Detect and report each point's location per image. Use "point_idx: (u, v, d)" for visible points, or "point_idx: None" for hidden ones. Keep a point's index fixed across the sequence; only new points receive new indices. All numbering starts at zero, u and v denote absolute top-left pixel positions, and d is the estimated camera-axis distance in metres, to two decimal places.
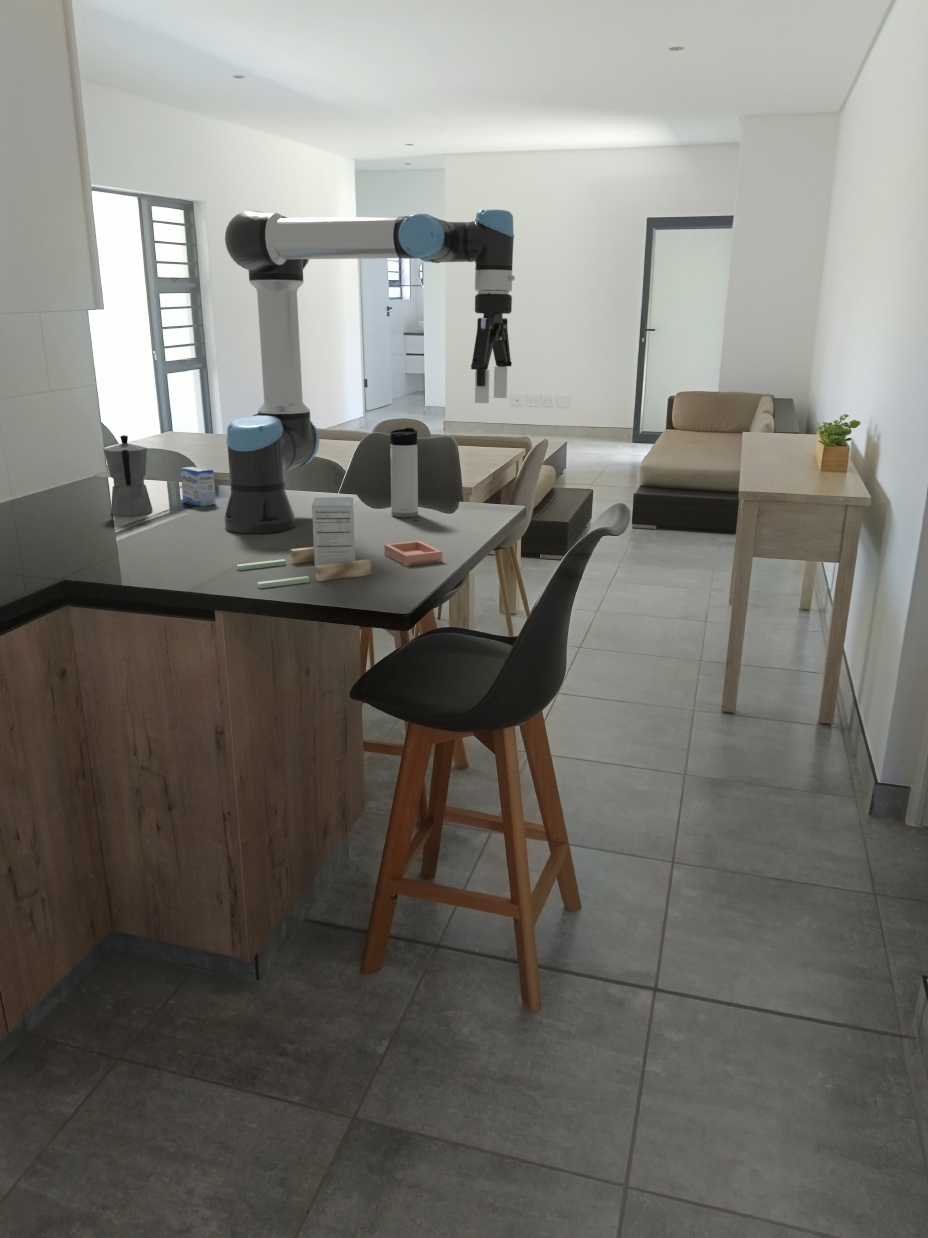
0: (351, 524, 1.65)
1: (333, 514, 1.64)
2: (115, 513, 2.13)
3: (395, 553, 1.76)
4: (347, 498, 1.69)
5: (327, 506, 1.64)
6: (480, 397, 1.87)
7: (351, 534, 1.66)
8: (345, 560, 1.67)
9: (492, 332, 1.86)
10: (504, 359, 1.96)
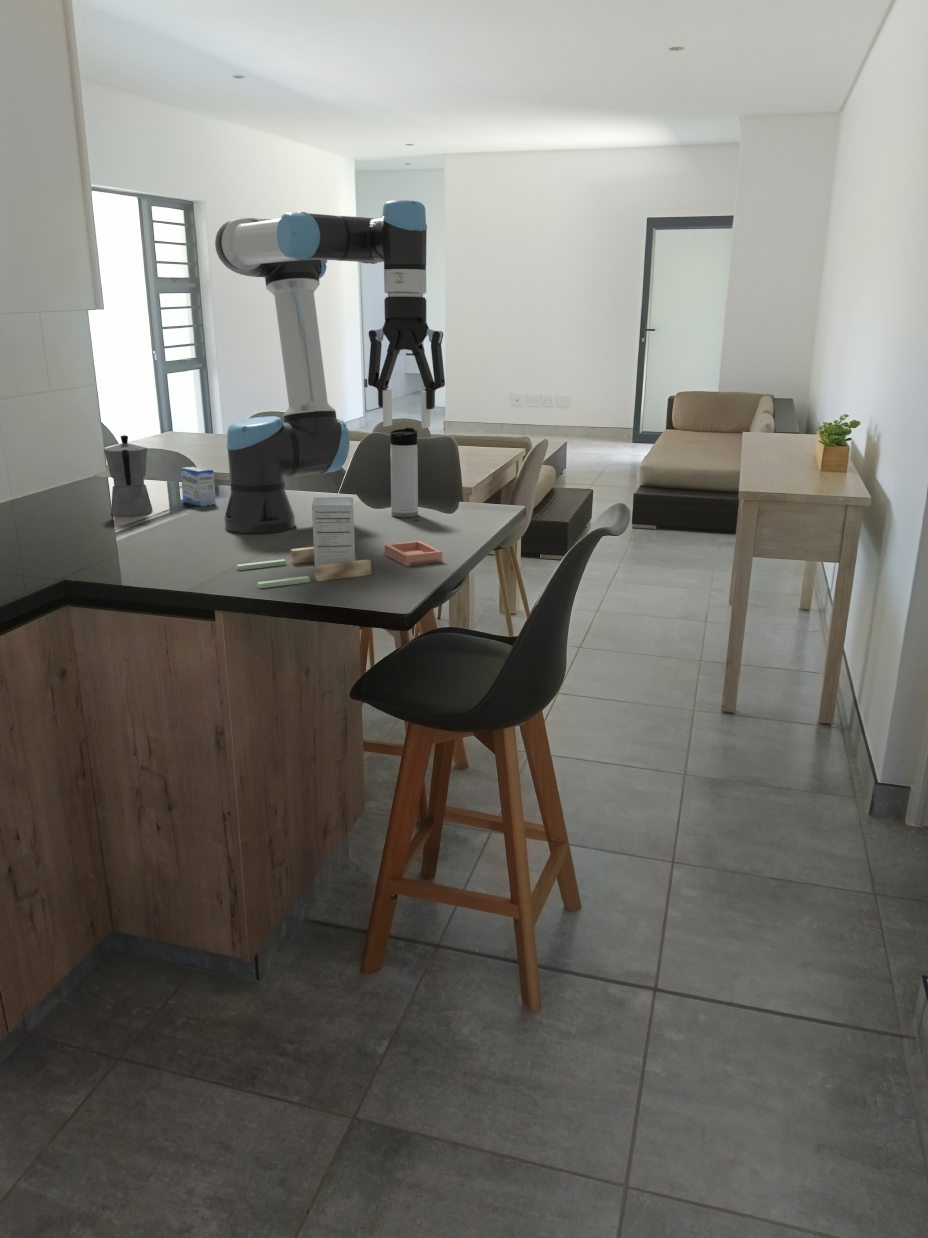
0: (351, 524, 1.65)
1: (333, 514, 1.64)
2: (115, 513, 2.13)
3: (395, 553, 1.76)
4: (347, 498, 1.69)
5: (327, 506, 1.64)
6: None
7: (351, 534, 1.66)
8: (345, 560, 1.67)
9: None
10: None
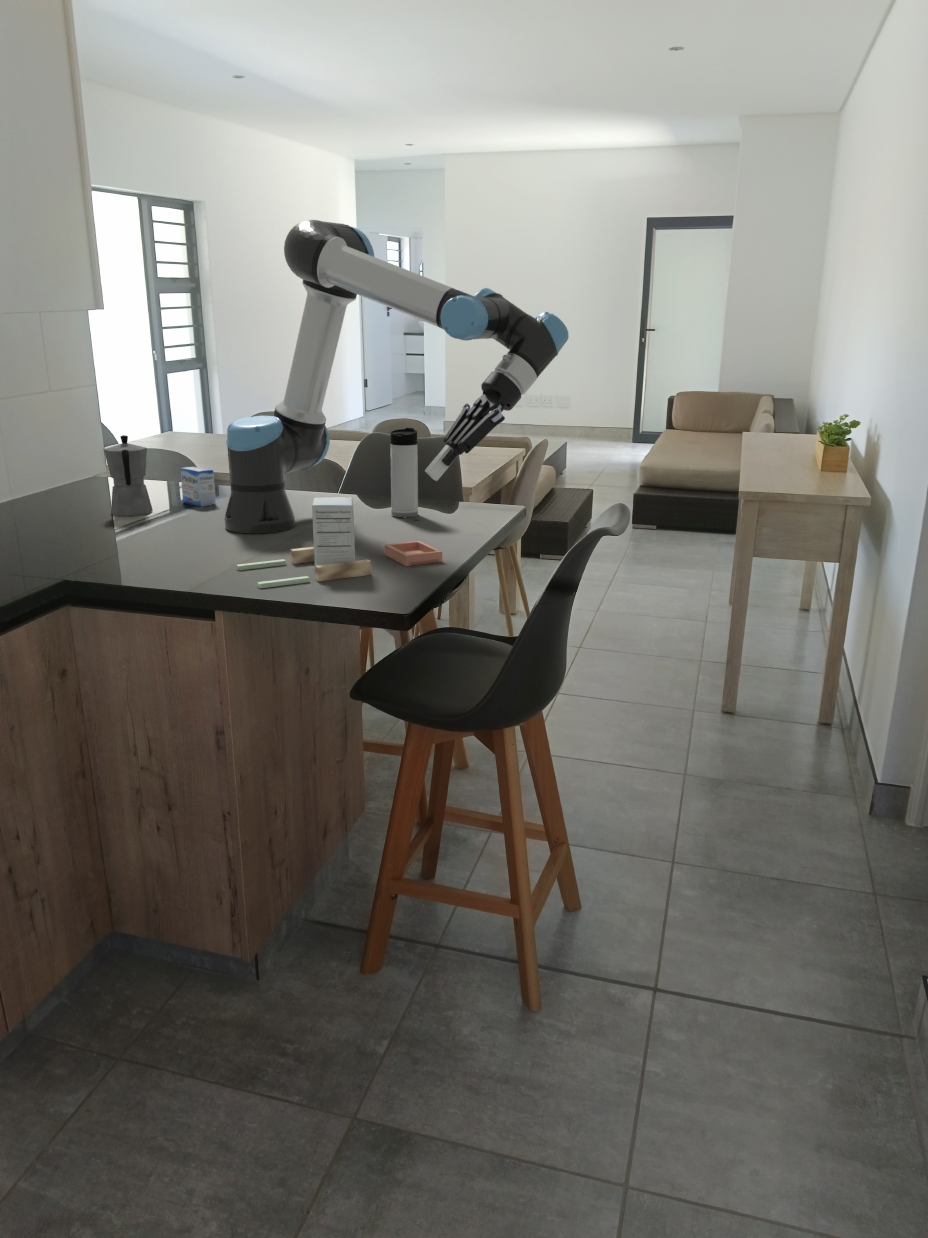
0: (351, 524, 1.65)
1: (333, 514, 1.64)
2: (115, 513, 2.13)
3: (395, 553, 1.76)
4: (347, 498, 1.69)
5: (327, 506, 1.64)
6: None
7: (351, 534, 1.66)
8: (345, 560, 1.67)
9: None
10: None
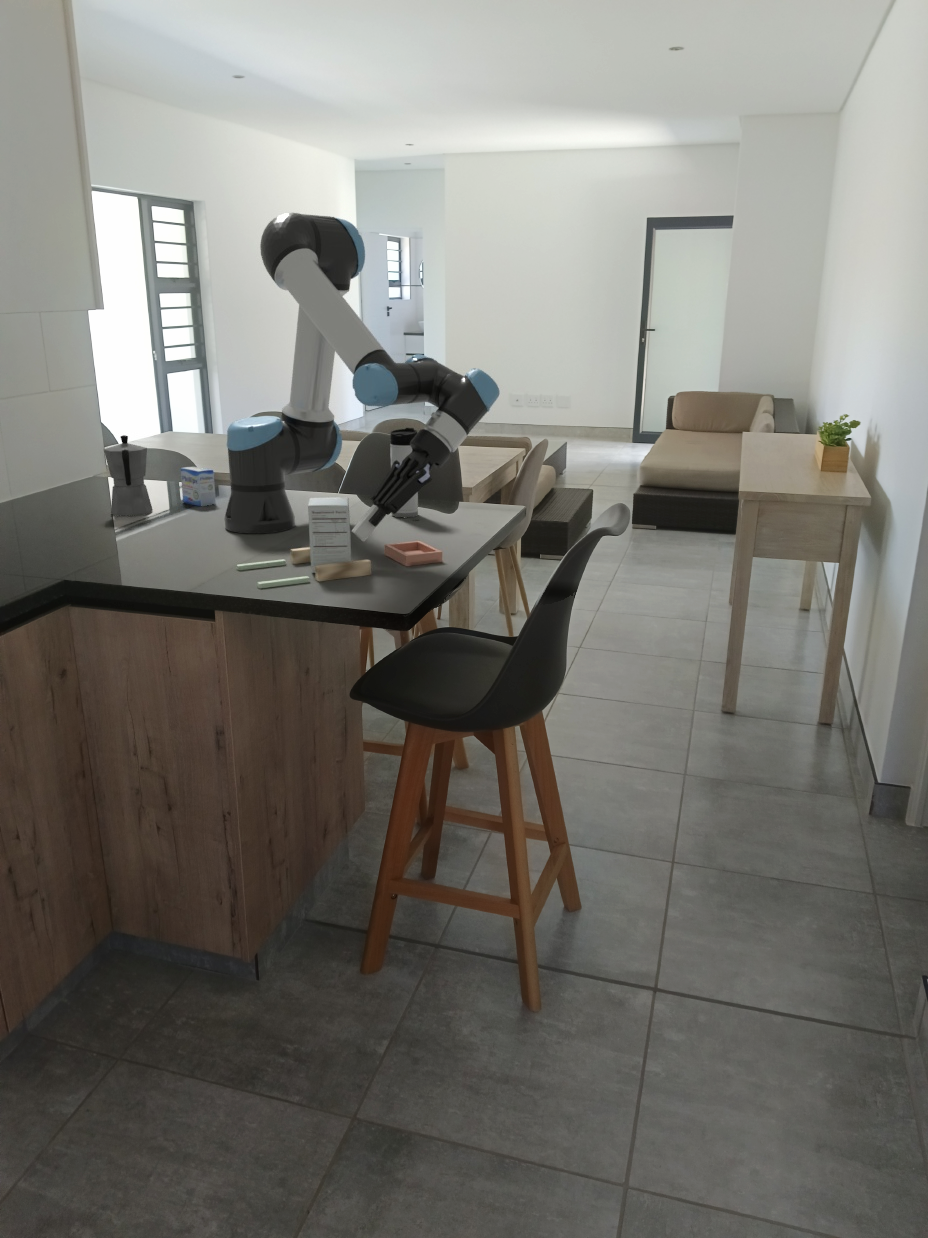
0: (347, 524, 1.65)
1: (329, 514, 1.64)
2: (115, 513, 2.13)
3: (395, 553, 1.76)
4: (343, 498, 1.69)
5: (323, 506, 1.63)
6: None
7: (347, 534, 1.65)
8: (342, 560, 1.67)
9: None
10: None
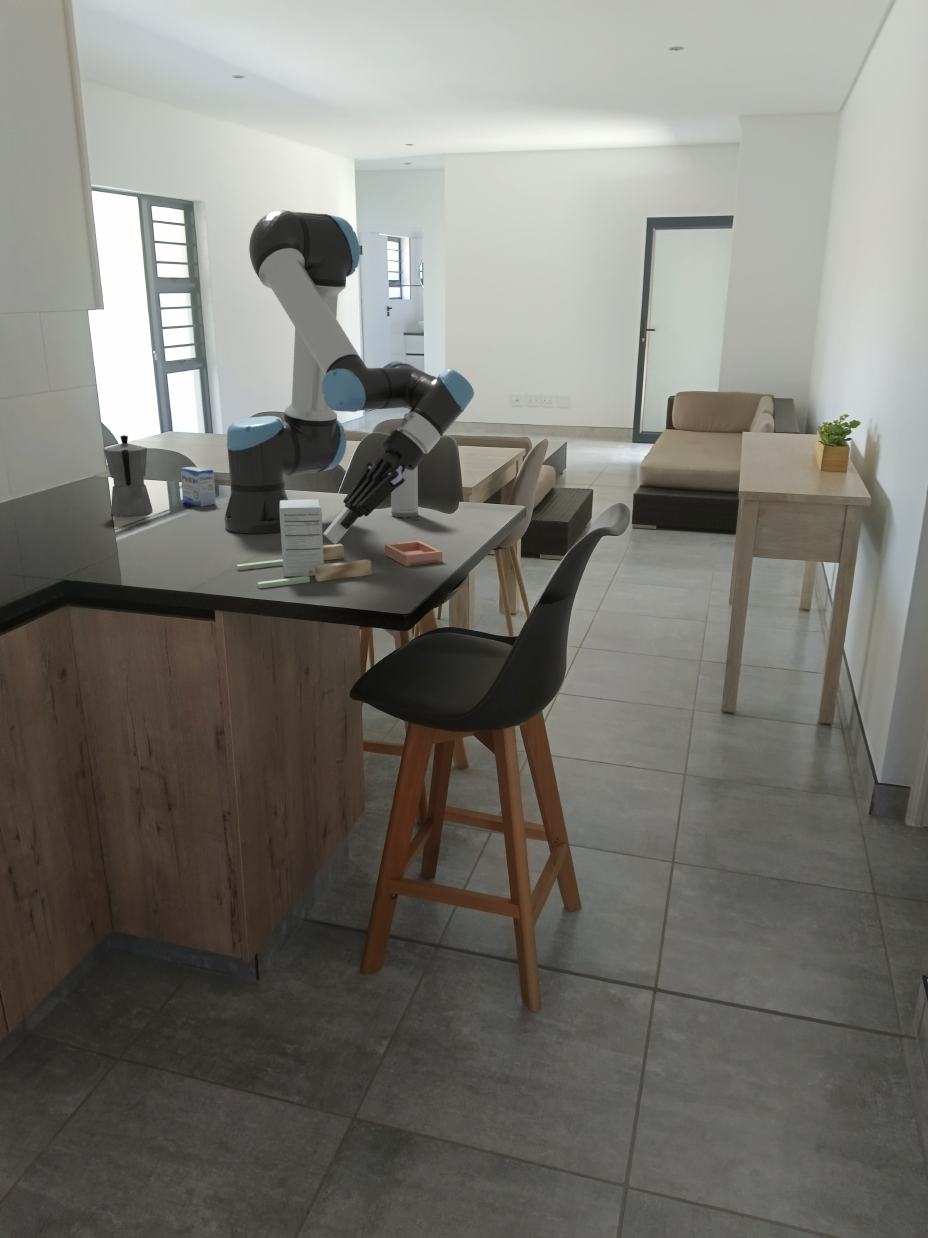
0: (320, 526, 1.63)
1: (302, 516, 1.61)
2: (115, 513, 2.13)
3: (395, 553, 1.76)
4: (314, 500, 1.67)
5: (296, 509, 1.61)
6: None
7: (320, 537, 1.63)
8: (315, 563, 1.65)
9: None
10: None
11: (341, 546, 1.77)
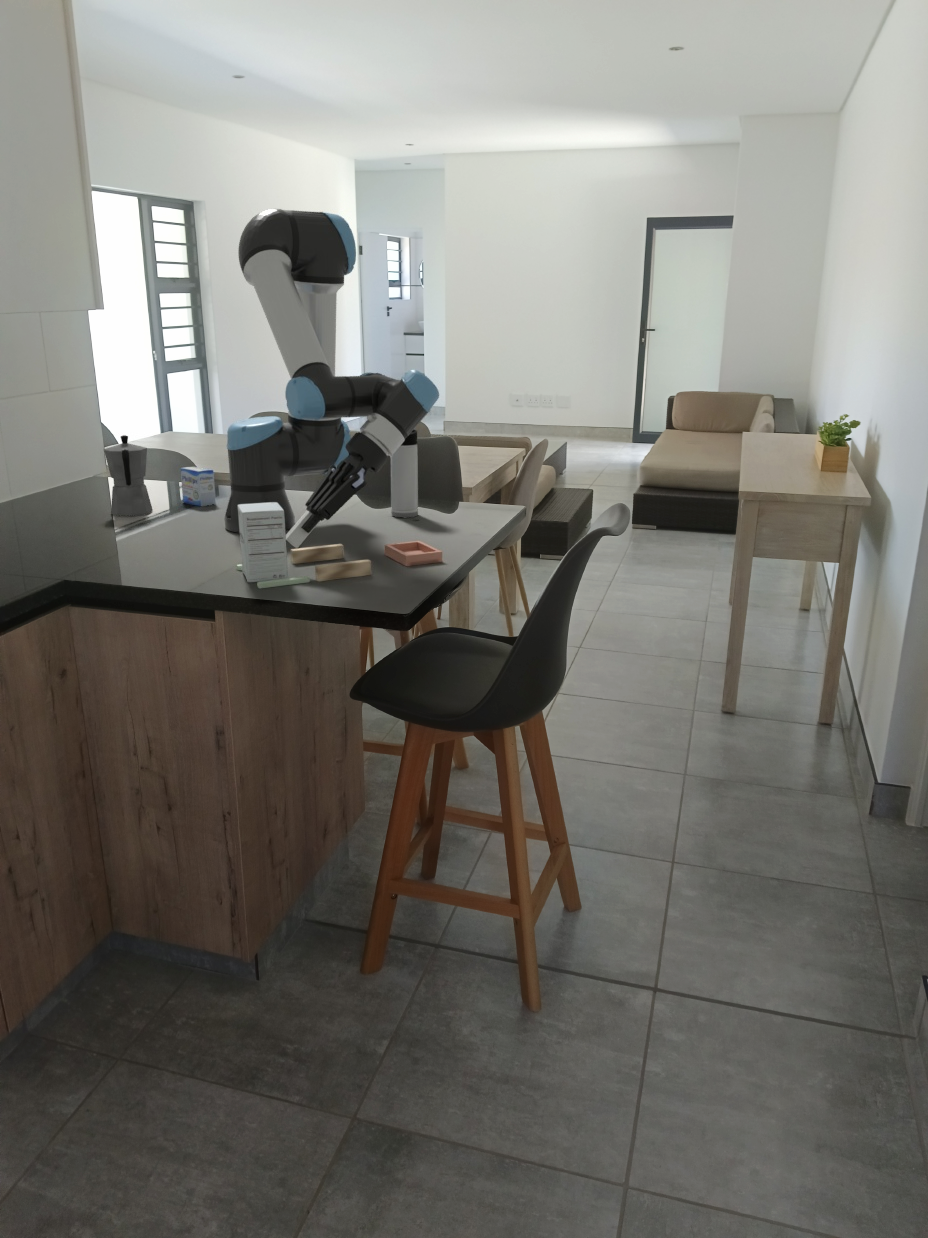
0: (284, 530, 1.60)
1: (265, 520, 1.58)
2: (115, 513, 2.13)
3: (395, 553, 1.76)
4: (273, 503, 1.64)
5: (258, 512, 1.58)
6: None
7: (284, 540, 1.61)
8: (279, 567, 1.62)
9: None
10: None
11: (341, 546, 1.77)
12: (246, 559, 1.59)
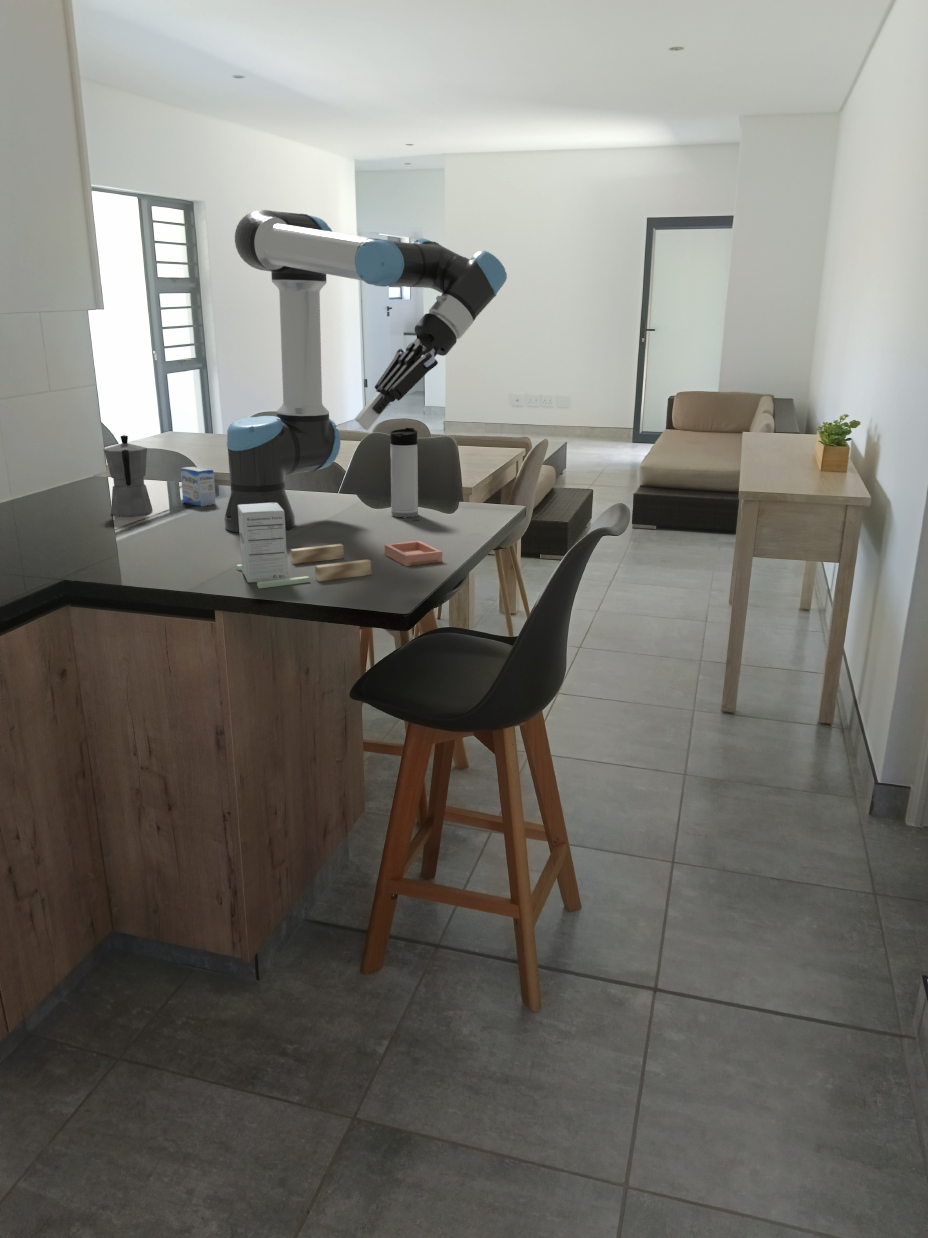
0: (284, 530, 1.60)
1: (265, 520, 1.58)
2: (115, 513, 2.13)
3: (395, 553, 1.76)
4: (273, 503, 1.64)
5: (258, 513, 1.58)
6: None
7: (284, 540, 1.61)
8: (279, 567, 1.62)
9: None
10: None
11: (341, 546, 1.77)
12: (246, 559, 1.59)
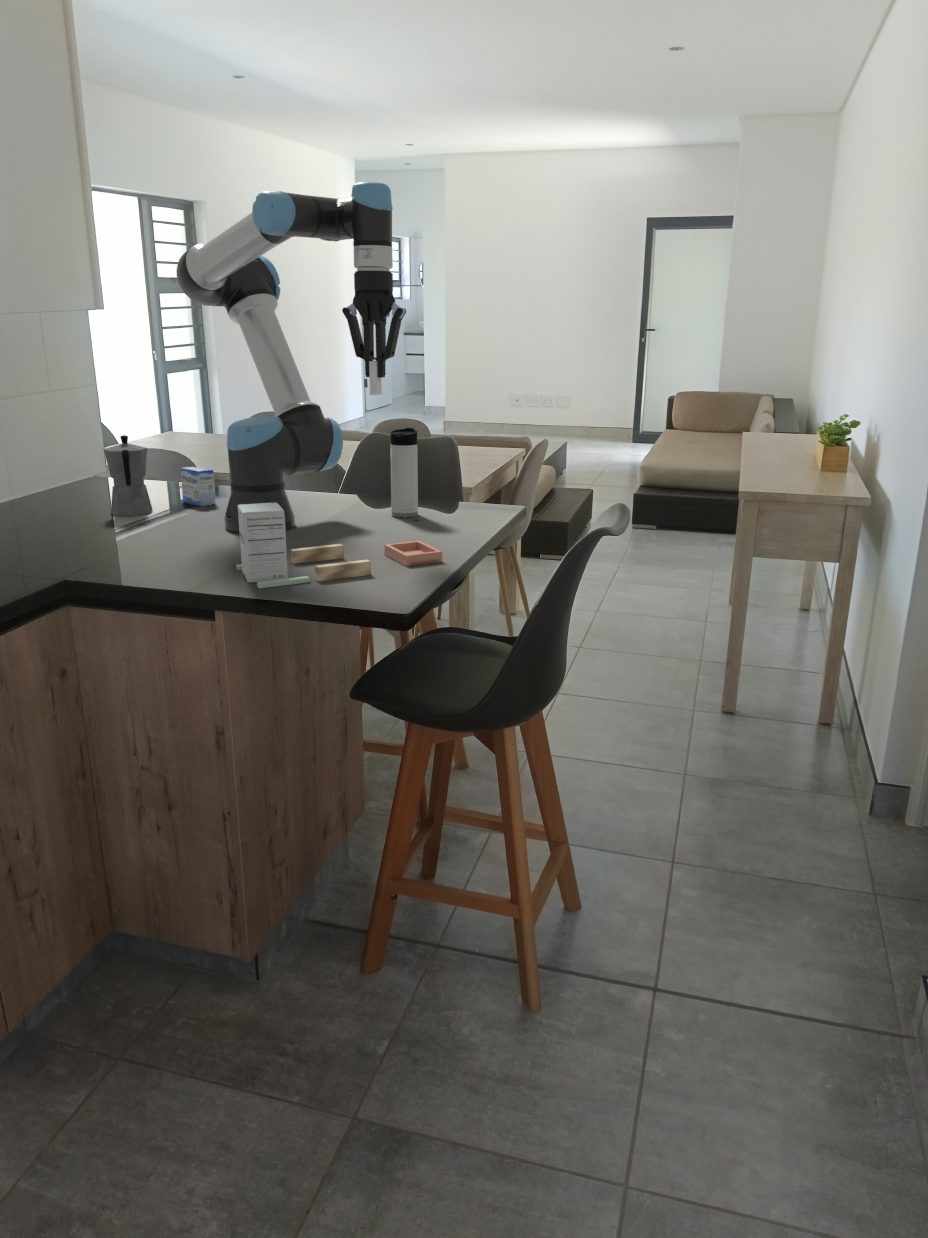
0: (284, 530, 1.60)
1: (265, 520, 1.58)
2: (115, 513, 2.13)
3: (395, 553, 1.76)
4: (273, 503, 1.64)
5: (258, 513, 1.58)
6: None
7: (284, 540, 1.61)
8: (279, 567, 1.62)
9: None
10: None
11: (341, 546, 1.77)
12: (246, 559, 1.59)
